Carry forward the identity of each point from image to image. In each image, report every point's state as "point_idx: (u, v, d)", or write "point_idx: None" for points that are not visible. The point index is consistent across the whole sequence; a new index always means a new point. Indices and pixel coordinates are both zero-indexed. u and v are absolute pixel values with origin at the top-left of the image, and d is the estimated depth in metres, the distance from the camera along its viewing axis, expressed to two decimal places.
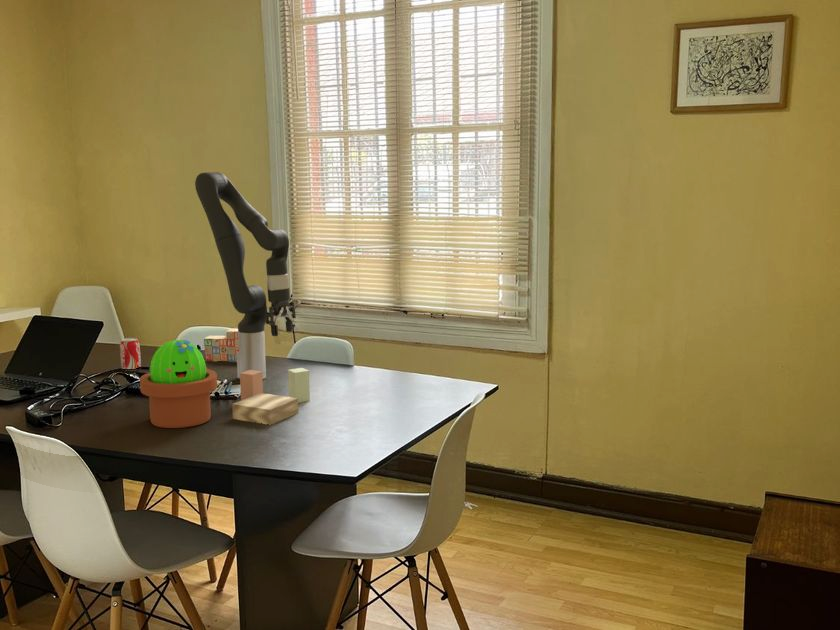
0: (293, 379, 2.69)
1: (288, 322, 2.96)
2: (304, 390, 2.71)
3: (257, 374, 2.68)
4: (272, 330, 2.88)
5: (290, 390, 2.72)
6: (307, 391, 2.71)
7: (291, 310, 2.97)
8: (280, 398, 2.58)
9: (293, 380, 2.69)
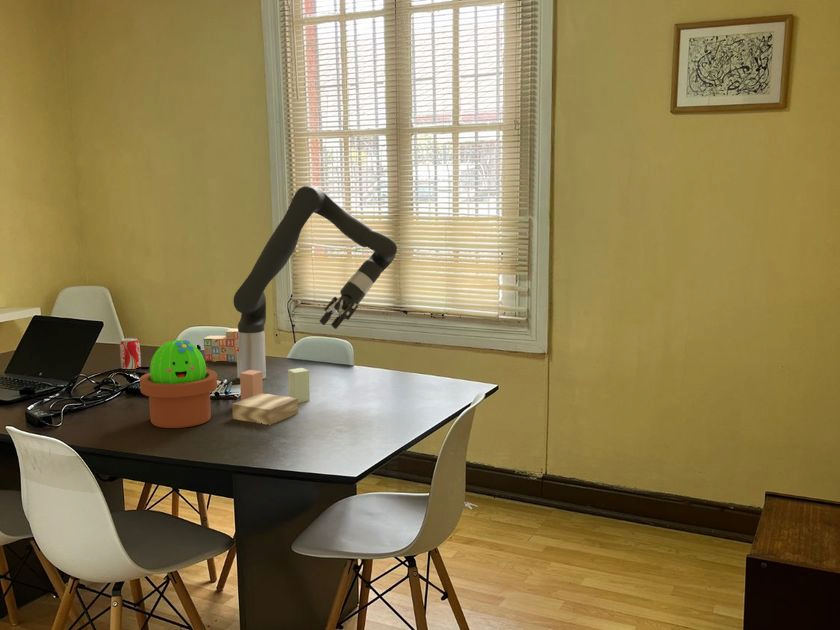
0: (293, 379, 2.69)
1: (328, 316, 2.82)
2: (304, 390, 2.71)
3: (257, 374, 2.68)
4: (338, 322, 2.74)
5: (290, 390, 2.72)
6: (307, 391, 2.71)
7: (333, 307, 2.84)
8: (280, 398, 2.58)
9: (293, 380, 2.69)
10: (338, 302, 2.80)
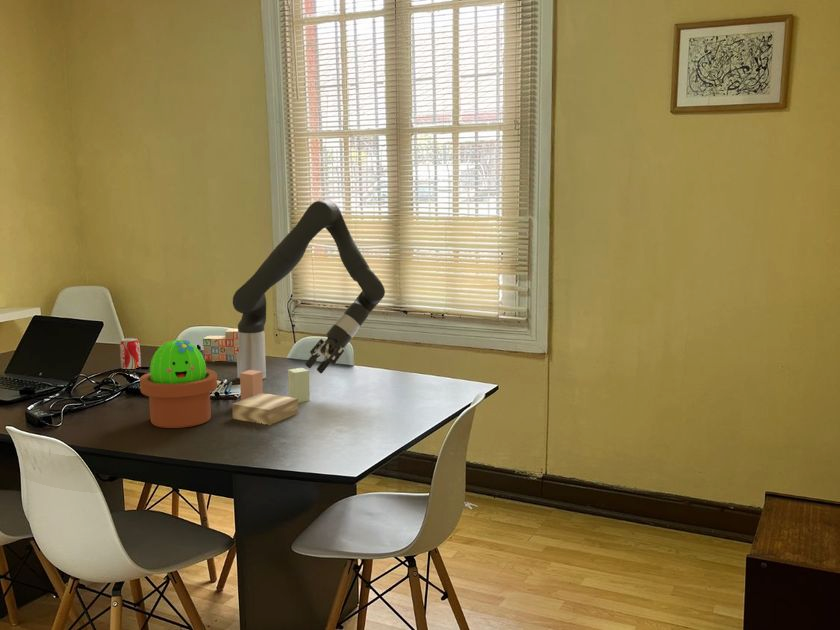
0: (293, 379, 2.69)
1: (314, 359, 2.78)
2: (304, 390, 2.71)
3: (257, 374, 2.68)
4: (323, 367, 2.70)
5: (290, 390, 2.72)
6: (307, 391, 2.71)
7: (319, 349, 2.81)
8: (280, 398, 2.58)
9: (293, 380, 2.69)
10: (324, 345, 2.76)
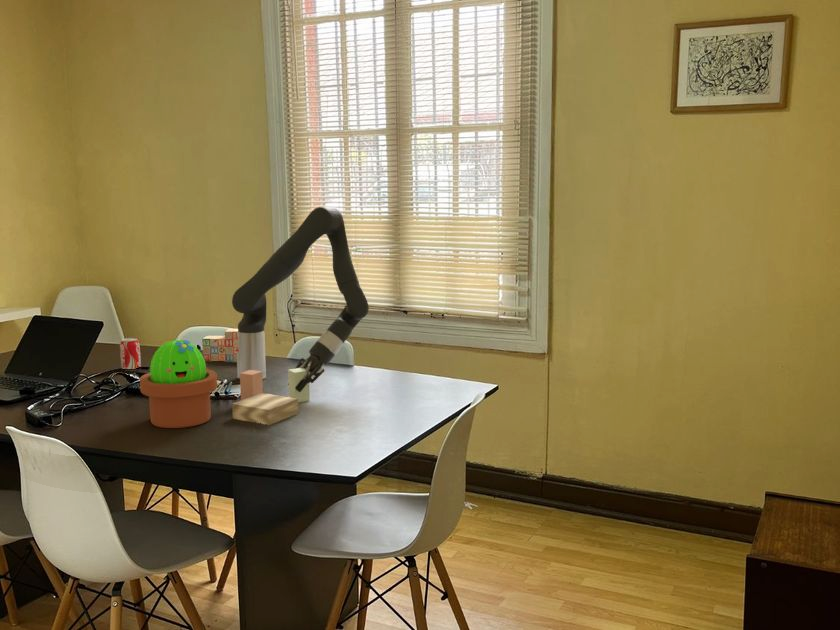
0: (293, 379, 2.69)
1: None
2: (303, 390, 2.71)
3: (257, 374, 2.68)
4: (302, 385, 2.69)
5: (290, 390, 2.72)
6: (307, 390, 2.71)
7: None
8: (280, 398, 2.58)
9: (293, 380, 2.69)
10: (307, 362, 2.74)
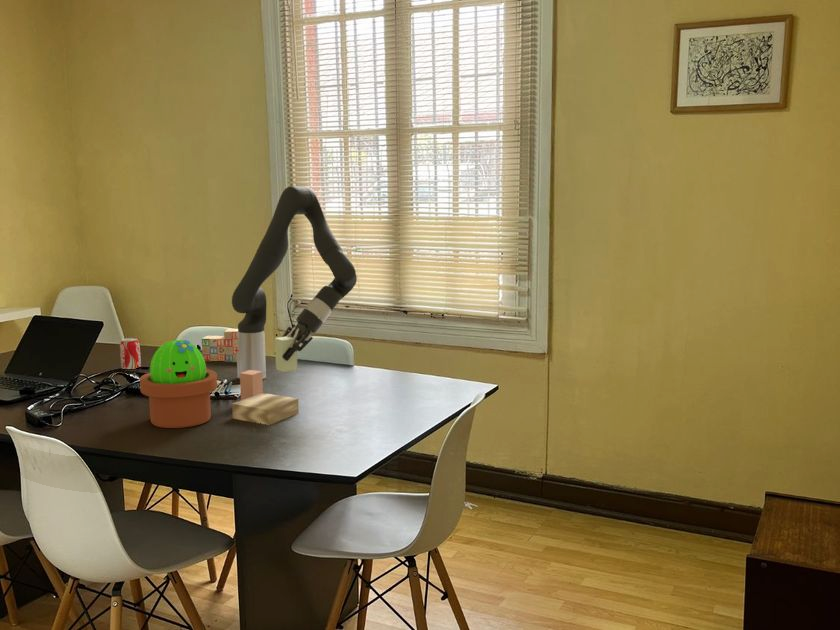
0: (280, 348, 2.60)
1: None
2: (291, 359, 2.61)
3: (257, 374, 2.68)
4: (289, 354, 2.59)
5: (277, 359, 2.63)
6: (294, 359, 2.62)
7: None
8: (280, 398, 2.58)
9: (280, 348, 2.60)
10: (294, 330, 2.64)
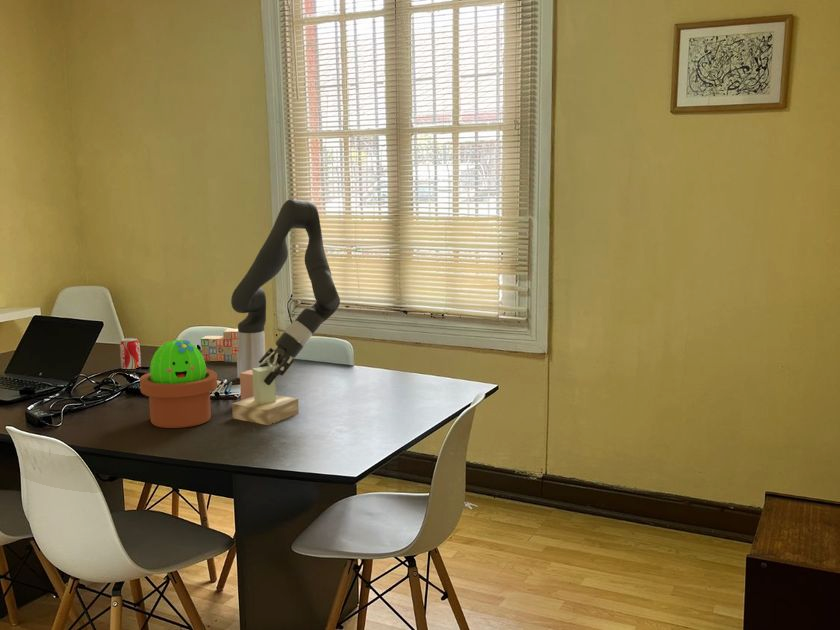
0: (257, 379, 2.51)
1: None
2: (269, 390, 2.53)
3: None
4: (271, 378, 2.49)
5: (255, 390, 2.54)
6: (273, 390, 2.53)
7: (269, 359, 2.60)
8: (280, 398, 2.58)
9: (258, 380, 2.51)
10: (273, 355, 2.55)
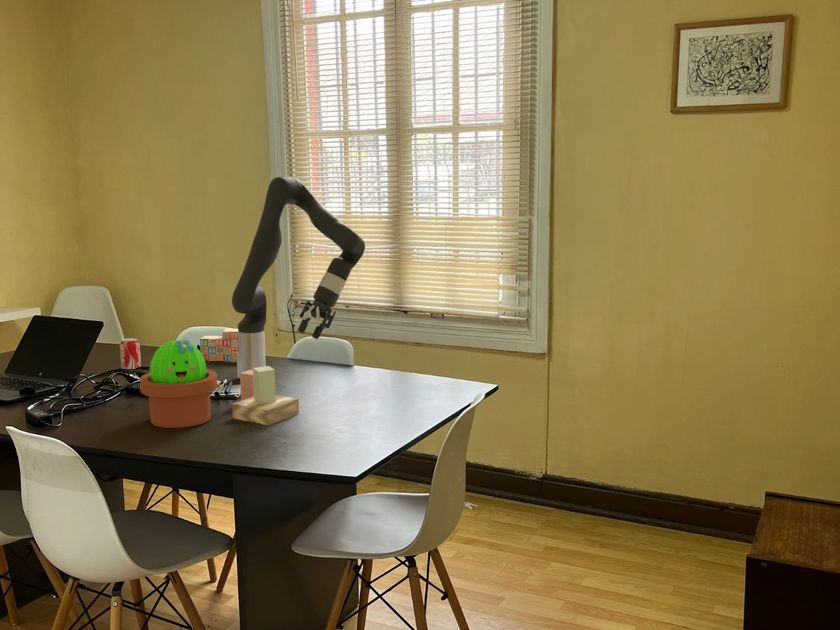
0: (257, 379, 2.51)
1: (305, 323, 2.71)
2: (269, 390, 2.53)
3: None
4: (319, 332, 2.64)
5: (255, 390, 2.54)
6: (272, 391, 2.53)
7: None
8: (281, 398, 2.58)
9: (258, 380, 2.51)
10: (313, 308, 2.68)
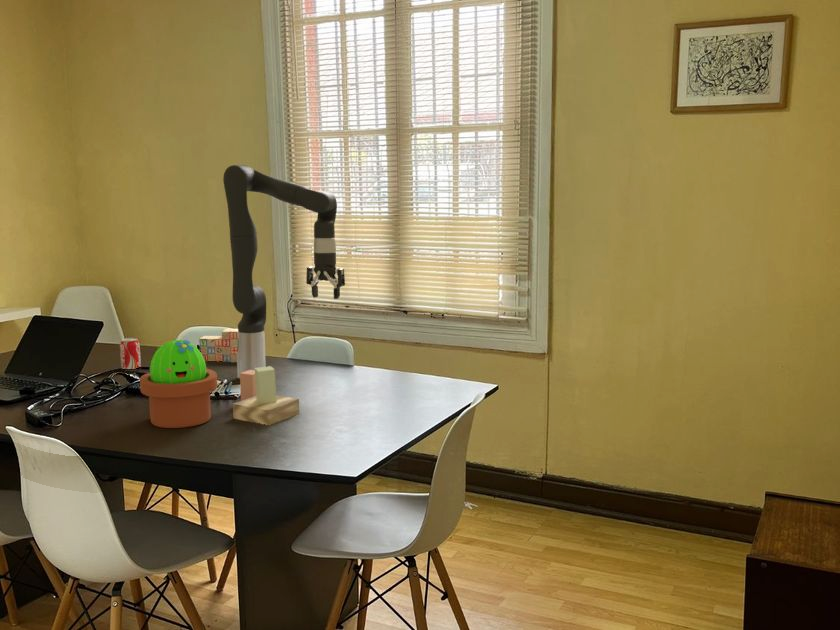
0: (257, 379, 2.52)
1: (316, 287, 2.91)
2: (269, 390, 2.53)
3: None
4: (338, 293, 2.87)
5: (256, 390, 2.55)
6: (273, 391, 2.53)
7: (312, 275, 2.92)
8: (281, 399, 2.57)
9: (258, 379, 2.52)
10: (320, 274, 2.87)
